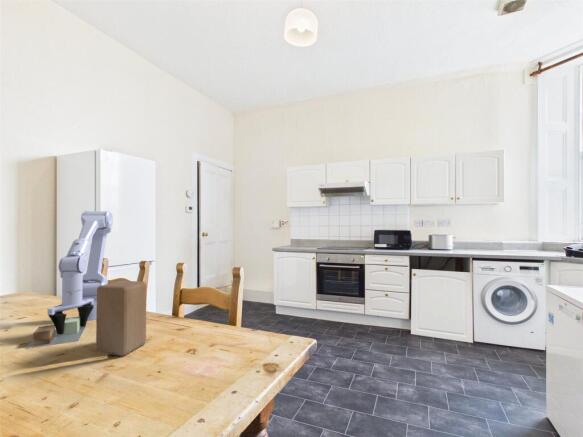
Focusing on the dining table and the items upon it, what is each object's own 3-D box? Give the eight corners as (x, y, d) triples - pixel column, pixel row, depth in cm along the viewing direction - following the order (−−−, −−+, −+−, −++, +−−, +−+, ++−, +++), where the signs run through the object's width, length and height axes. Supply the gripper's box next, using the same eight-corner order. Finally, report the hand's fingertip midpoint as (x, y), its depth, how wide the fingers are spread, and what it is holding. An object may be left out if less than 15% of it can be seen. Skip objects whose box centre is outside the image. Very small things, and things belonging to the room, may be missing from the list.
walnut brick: (54, 337, 97) (54, 324, 97) (49, 343, 92) (49, 330, 92) (38, 339, 95) (39, 326, 95) (33, 346, 90) (33, 332, 90)
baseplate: (86, 328, 108) (86, 325, 108) (78, 344, 94) (78, 340, 94) (40, 335, 102) (40, 331, 102) (24, 352, 88) (24, 348, 88)
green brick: (80, 327, 106) (80, 316, 106) (77, 333, 101) (77, 321, 101) (66, 329, 104) (66, 318, 104) (62, 335, 99) (62, 323, 99)
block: (123, 357, 85) (124, 287, 85) (94, 354, 87) (95, 286, 87) (147, 343, 95) (147, 281, 95) (120, 341, 97) (121, 280, 97)
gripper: (84, 285, 111) (83, 322, 111) (41, 294, 97) (40, 336, 97) (98, 287, 109) (97, 324, 108) (56, 296, 95) (55, 338, 95)
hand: (71, 330), depth 102 cm, fingers closed on green brick, 7 cm apart
